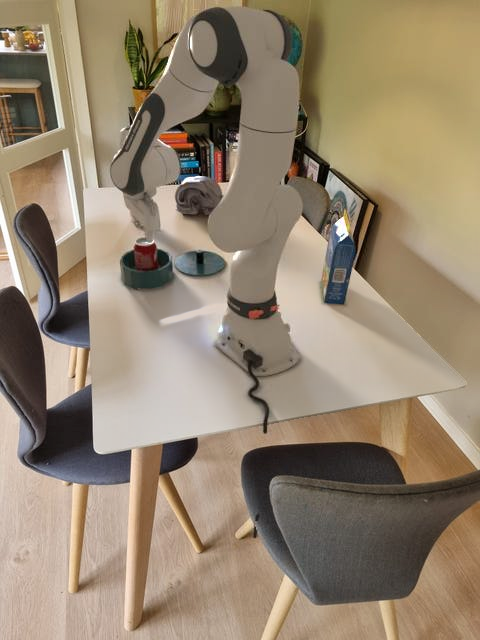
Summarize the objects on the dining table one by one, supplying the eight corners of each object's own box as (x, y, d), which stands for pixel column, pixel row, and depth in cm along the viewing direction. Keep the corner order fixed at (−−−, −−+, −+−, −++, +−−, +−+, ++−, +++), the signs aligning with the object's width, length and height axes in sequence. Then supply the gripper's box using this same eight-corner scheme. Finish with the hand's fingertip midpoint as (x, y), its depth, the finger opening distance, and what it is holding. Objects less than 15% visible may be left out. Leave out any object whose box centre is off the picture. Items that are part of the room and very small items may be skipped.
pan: (180, 283, 138) (180, 265, 134) (131, 295, 131) (129, 276, 128) (161, 261, 149) (160, 243, 145) (115, 271, 142) (113, 253, 138)
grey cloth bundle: (226, 210, 189) (225, 174, 183) (221, 219, 173) (221, 179, 167) (179, 210, 190) (177, 173, 184) (170, 218, 174) (168, 178, 168)
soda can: (154, 283, 137) (151, 247, 130) (133, 280, 138) (129, 244, 131) (161, 272, 142) (159, 237, 135) (141, 269, 143) (138, 235, 136)
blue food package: (340, 284, 142) (355, 209, 127) (344, 305, 132) (362, 226, 118) (320, 282, 142) (333, 207, 128) (323, 303, 133) (338, 225, 118)
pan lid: (234, 271, 146) (234, 257, 143) (187, 282, 139) (186, 268, 136) (211, 249, 157) (211, 236, 154) (166, 259, 150) (166, 245, 147)
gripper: (165, 199, 118) (167, 246, 126) (138, 174, 131) (142, 218, 140) (141, 202, 115) (145, 250, 123) (117, 176, 129) (122, 221, 137)
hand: (143, 233), depth 132 cm, fingers open, 8 cm apart
